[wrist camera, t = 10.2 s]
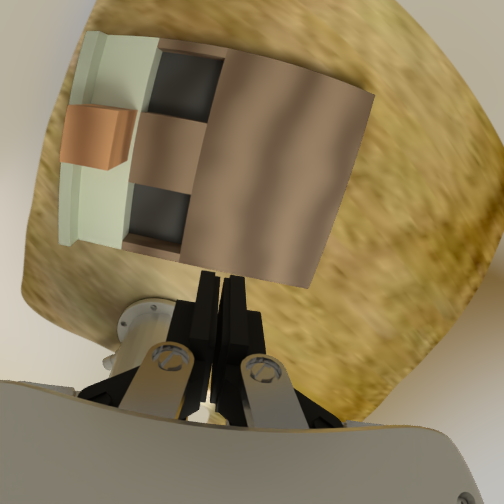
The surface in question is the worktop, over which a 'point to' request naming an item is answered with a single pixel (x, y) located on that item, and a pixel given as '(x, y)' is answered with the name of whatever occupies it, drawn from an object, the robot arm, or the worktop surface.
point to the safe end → (137, 98)
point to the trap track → (242, 162)
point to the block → (97, 135)
